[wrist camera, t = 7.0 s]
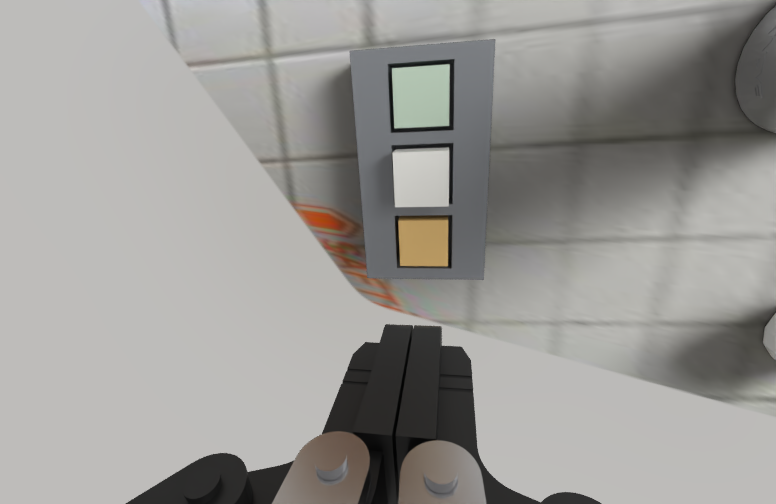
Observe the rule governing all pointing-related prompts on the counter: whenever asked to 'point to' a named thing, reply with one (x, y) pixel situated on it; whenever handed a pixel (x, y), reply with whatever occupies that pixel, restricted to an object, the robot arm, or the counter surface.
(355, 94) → the keypad
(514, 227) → the counter surface
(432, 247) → the amber key
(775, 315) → the white cup
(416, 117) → the sage green key
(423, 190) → the off-white key
